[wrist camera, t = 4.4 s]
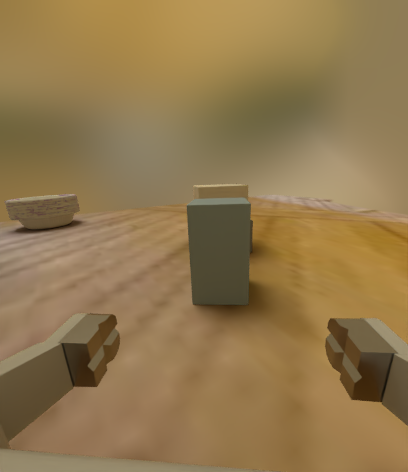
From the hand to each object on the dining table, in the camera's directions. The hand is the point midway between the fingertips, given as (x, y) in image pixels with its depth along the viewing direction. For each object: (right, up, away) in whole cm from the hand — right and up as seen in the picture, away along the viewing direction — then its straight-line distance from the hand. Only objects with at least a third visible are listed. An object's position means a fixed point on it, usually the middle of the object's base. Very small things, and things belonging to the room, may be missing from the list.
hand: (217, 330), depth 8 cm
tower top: (+2, +7, +25) cm, 26 cm away
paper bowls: (-42, +6, +49) cm, 65 cm away
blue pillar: (+1, -2, +13) cm, 13 cm away
